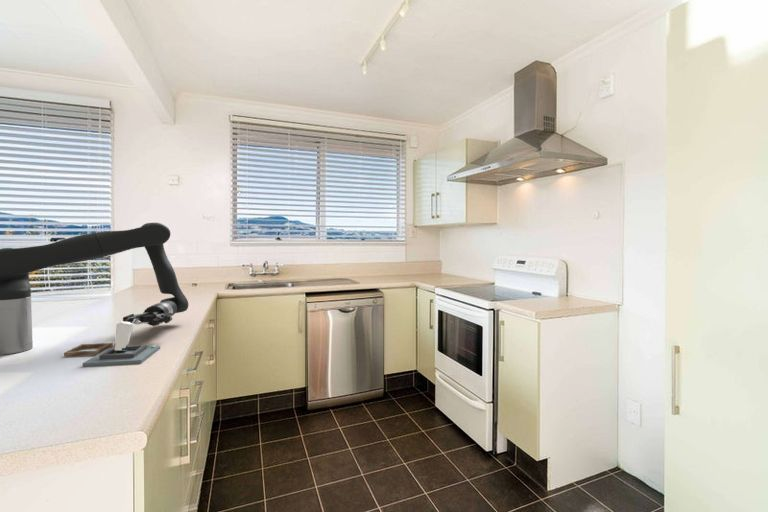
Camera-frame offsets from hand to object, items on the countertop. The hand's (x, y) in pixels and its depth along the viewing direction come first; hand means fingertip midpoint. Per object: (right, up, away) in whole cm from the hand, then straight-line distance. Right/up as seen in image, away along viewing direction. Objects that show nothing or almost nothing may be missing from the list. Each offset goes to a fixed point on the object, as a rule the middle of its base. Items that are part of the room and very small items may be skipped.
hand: (139, 323), depth 119 cm
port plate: (+2, -9, -10) cm, 13 cm away
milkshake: (0, -7, -9) cm, 11 cm away
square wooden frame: (-13, -8, -5) cm, 16 cm away
